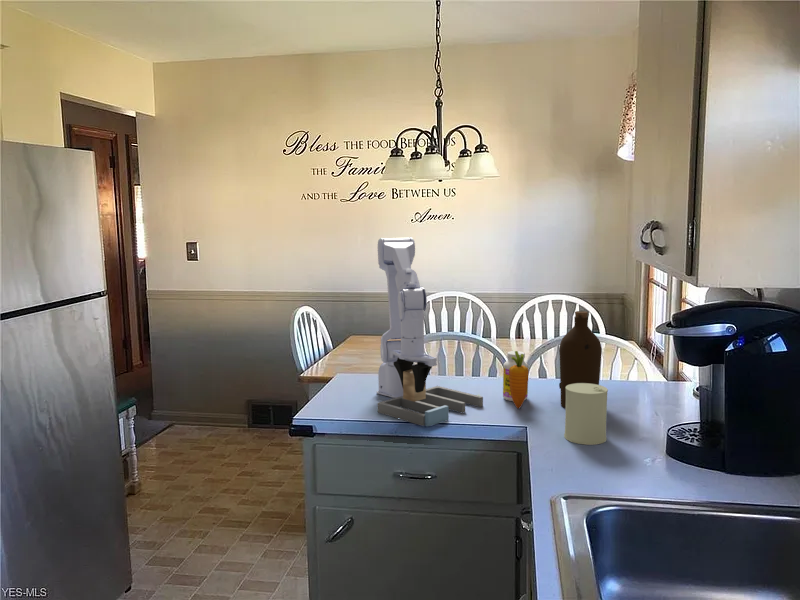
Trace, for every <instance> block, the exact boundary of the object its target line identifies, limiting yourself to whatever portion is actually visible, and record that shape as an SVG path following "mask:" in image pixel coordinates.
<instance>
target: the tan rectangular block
mask: <svg viewBox="0 0 800 600" xmlns="http://www.w3.org/2000/svg"><path fill="white" fill-rule="evenodd" d="M426 387H427V382H425V385H424V390H423V391H422V392H418V393H417V392H416V390H415V380H414V374H413V371H412V370H407V371H403V399H407V400H410V401H414V402H415V401H419V400H423V399H426V389H427V388H426Z"/></svg>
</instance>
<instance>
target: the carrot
mask: <svg viewBox="0 0 800 600" xmlns="http://www.w3.org/2000/svg"><path fill="white" fill-rule="evenodd" d="M514 351H515V355H516V357H517V359H516V358H515V357H511V358H512V359H513V360H514V361H515V362H516V364H517V365H514V366H512V367H510V369H509V385H510V391H511V396H512V399H513V401H512V402H513V404H514V406H515V407H516V409H518V410H519V409H520V408H521V407H522V405H523V404H524V402H525V400H524V399H525V397H526V392H527V387H528V388H529V374H530V373H529V372H530V371H529V367H528V368H527V367H525V366H523V365H522V362H523V357H524V355H523V354H521V357H520V356H519V354H518V351H519V350H514Z"/></svg>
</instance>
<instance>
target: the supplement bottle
mask: <svg viewBox="0 0 800 600" xmlns="http://www.w3.org/2000/svg"><path fill="white" fill-rule="evenodd" d="M515 351H516V350H511V351H507V354H506V356H507V357H506V358H507V360H506V361H505V362H504V363H503V367H502V369H503V371H502V372H503V374H502V375H503V377H502V378H503V379H502V397H503V399H504V400H506V401H507V402H508V401H510V402H513V399H512V396H511V391H510V385H509V369H510V367H512V366H514V365H517V364H516V362H515V361H514V360H513V359H512V358H511V357H515V358H516V359H517V357H516V355H515ZM517 351H518V354H519V356H520V357H521V354H523V355H524V357H523V362H522V365H523V366H525V367H527V368H528V369H529V364H528V363H527V362H526V361H525V357H526V354H525V352H524V351H519V350H517ZM528 389H529V386H528V387H527V392H526V397H525V399H524V401H526V400H528V394H529V392H528V391H529V390H528Z"/></svg>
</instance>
